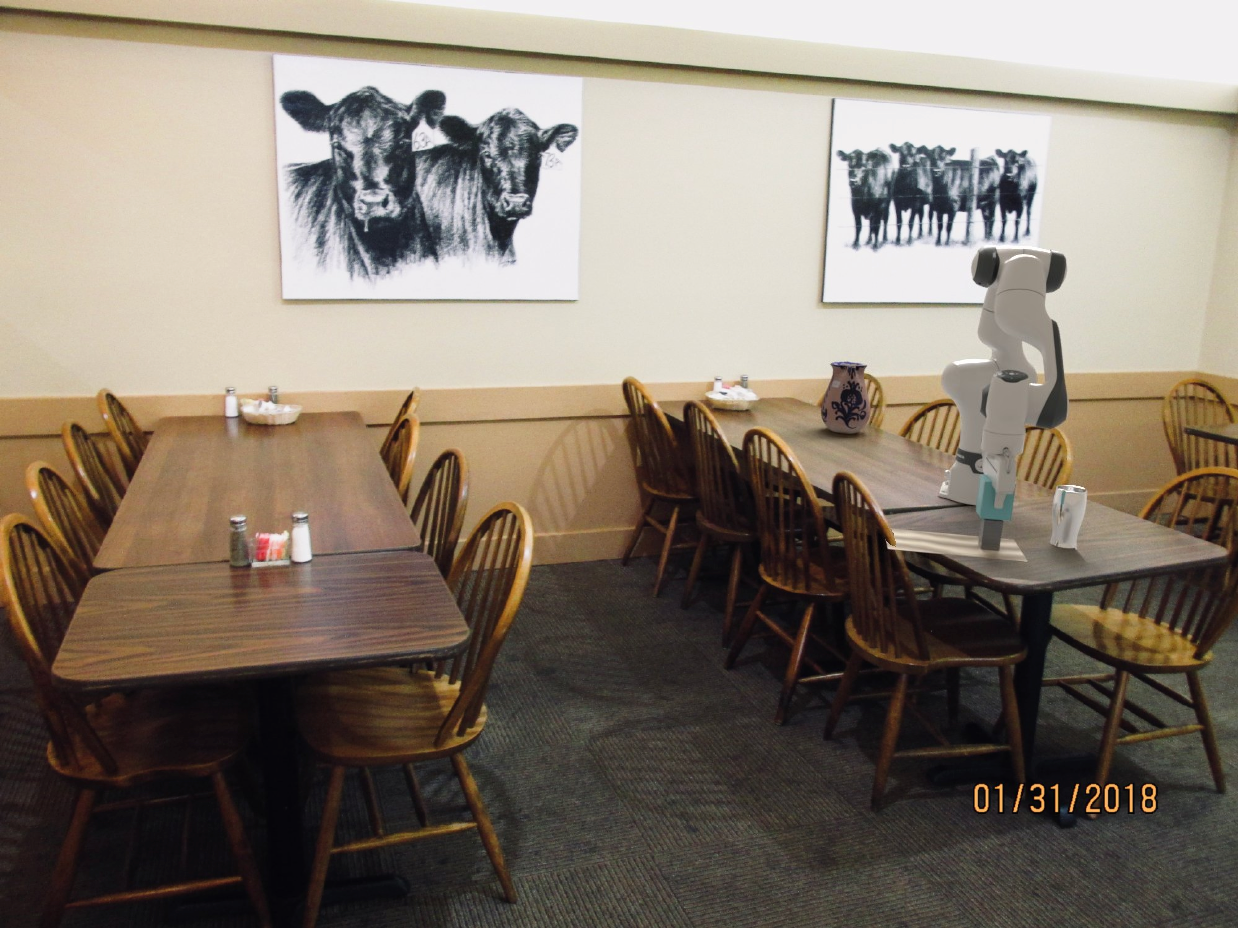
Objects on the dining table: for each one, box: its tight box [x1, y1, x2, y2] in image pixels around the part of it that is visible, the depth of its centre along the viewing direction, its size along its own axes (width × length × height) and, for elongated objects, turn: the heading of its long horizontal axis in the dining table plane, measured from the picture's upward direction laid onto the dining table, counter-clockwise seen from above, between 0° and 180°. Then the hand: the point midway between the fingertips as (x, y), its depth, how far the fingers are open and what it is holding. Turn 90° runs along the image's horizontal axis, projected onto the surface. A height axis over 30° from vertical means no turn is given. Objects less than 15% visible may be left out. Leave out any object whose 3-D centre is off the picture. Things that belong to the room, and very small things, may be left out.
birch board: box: [885, 528, 1029, 563], centre depth 221 cm, size 16×30×2 cm, turn 78°
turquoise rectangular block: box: [975, 474, 1017, 522], centre depth 216 cm, size 7×7×9 cm
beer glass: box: [1049, 484, 1088, 551], centre depth 222 cm, size 7×7×15 cm
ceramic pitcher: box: [820, 360, 871, 435], centre depth 348 cm, size 18×21×25 cm
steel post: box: [978, 518, 1004, 551], centre depth 219 cm, size 4×4×7 cm
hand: (994, 502), depth 217 cm, fingers closed on turquoise rectangular block, 7 cm apart
